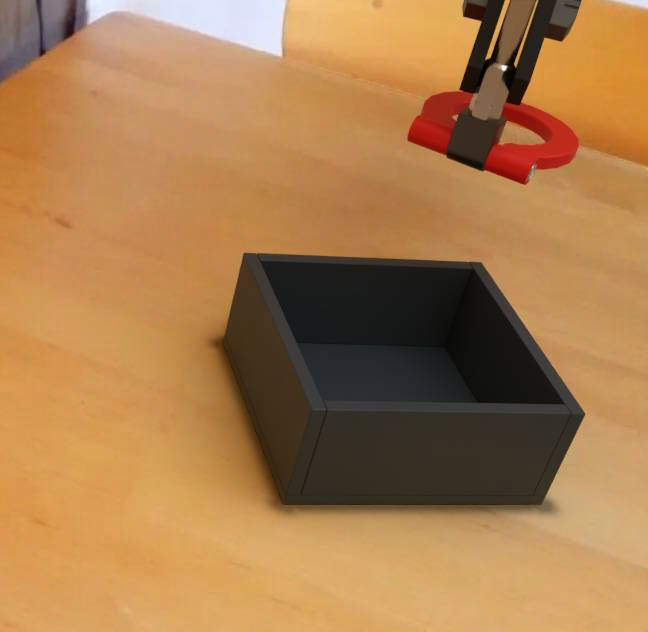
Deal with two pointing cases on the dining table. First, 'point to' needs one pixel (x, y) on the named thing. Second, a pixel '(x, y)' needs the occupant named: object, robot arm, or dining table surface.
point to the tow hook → (495, 116)
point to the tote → (395, 382)
